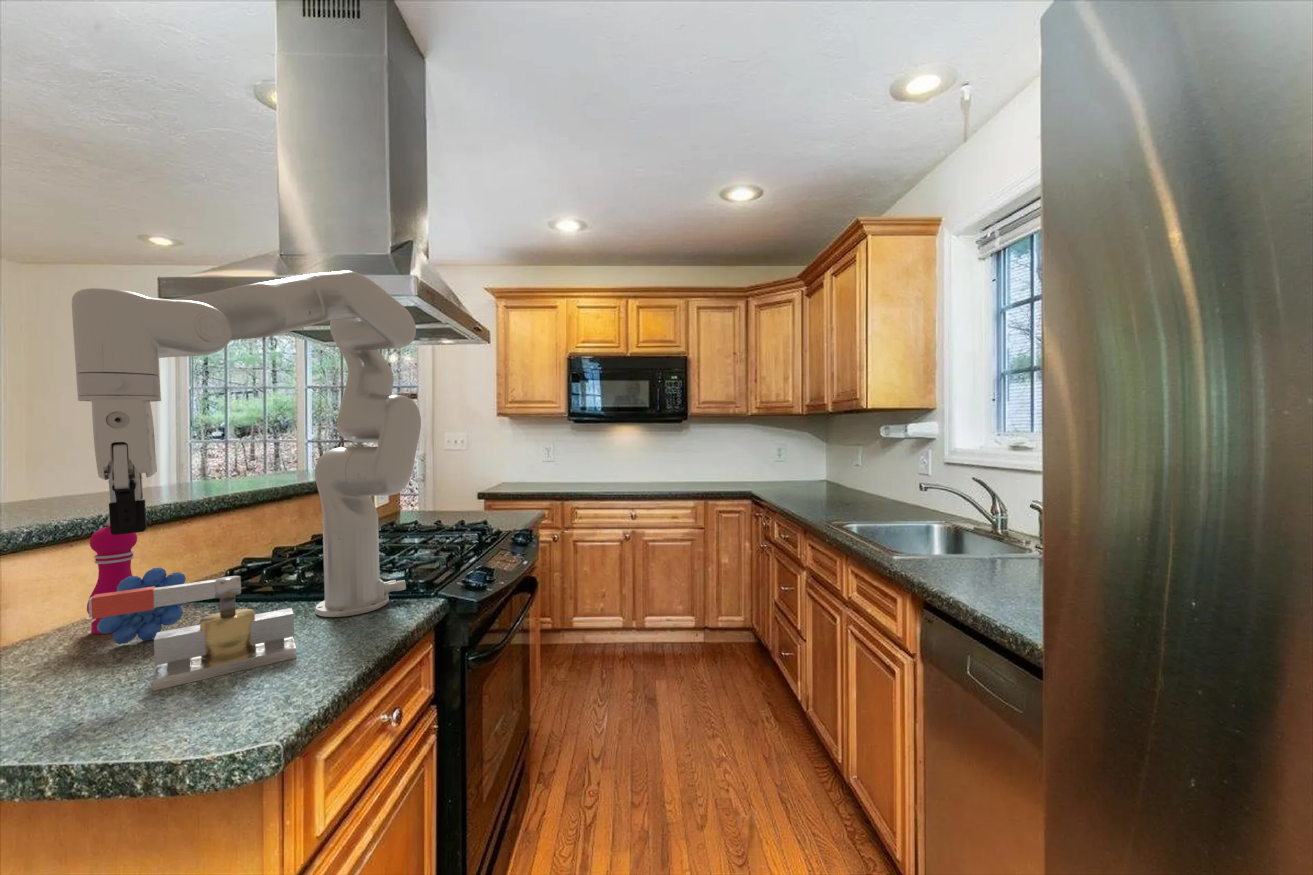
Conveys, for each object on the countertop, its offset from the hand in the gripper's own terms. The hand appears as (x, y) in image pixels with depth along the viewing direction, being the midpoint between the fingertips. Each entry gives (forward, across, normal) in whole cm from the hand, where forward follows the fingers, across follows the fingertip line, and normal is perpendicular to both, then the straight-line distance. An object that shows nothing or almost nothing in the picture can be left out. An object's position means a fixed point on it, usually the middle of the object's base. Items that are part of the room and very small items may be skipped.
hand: (129, 532), depth 69 cm
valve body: (+22, +6, -9) cm, 25 cm away
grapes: (+23, +28, +1) cm, 36 cm away
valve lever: (+12, +7, -3) cm, 14 cm away
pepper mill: (+23, +40, +6) cm, 46 cm away
